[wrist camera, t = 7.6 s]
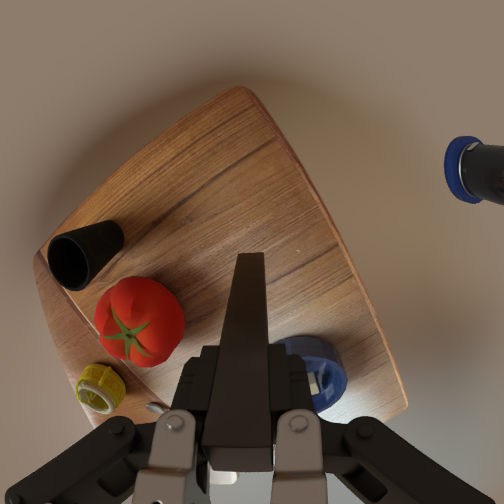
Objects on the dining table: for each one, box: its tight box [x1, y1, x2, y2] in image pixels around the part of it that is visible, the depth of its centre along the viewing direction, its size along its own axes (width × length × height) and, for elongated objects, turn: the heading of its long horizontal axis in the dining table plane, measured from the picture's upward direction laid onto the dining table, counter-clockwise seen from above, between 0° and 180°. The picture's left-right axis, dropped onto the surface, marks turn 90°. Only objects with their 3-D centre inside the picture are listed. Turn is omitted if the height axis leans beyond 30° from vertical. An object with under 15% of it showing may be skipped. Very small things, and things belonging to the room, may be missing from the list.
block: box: [307, 372, 319, 395], centre depth 46 cm, size 3×3×3 cm
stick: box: [201, 252, 274, 472], centre depth 14 cm, size 2×2×16 cm
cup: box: [47, 221, 124, 291], centre depth 34 cm, size 8×8×12 cm
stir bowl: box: [274, 336, 348, 414], centre depth 44 cm, size 17×17×6 cm
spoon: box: [146, 403, 167, 413], centre depth 52 cm, size 3×12×2 cm, turn 77°
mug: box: [76, 363, 126, 414], centre depth 44 cm, size 13×11×12 cm
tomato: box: [94, 276, 185, 367], centre depth 39 cm, size 14×16×10 cm
